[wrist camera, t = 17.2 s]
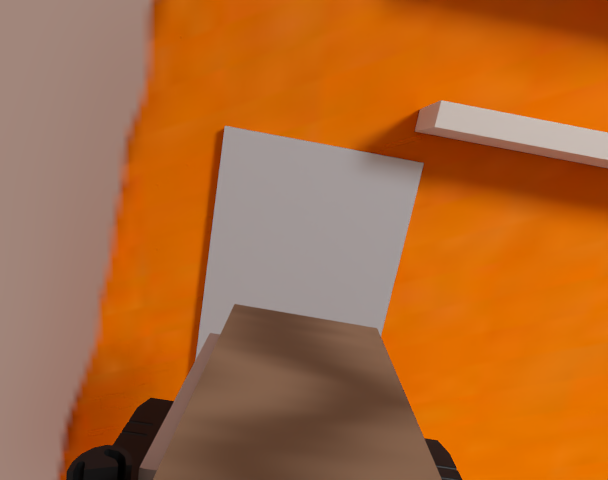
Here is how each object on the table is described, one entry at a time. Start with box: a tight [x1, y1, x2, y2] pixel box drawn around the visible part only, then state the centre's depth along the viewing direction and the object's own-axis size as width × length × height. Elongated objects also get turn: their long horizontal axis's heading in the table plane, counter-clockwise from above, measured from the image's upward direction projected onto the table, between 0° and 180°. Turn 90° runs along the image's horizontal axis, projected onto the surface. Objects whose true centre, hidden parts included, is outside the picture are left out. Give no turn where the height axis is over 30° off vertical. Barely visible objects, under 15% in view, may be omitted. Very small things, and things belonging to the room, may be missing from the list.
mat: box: [196, 126, 424, 359], centre depth 27 cm, size 20×14×1 cm
